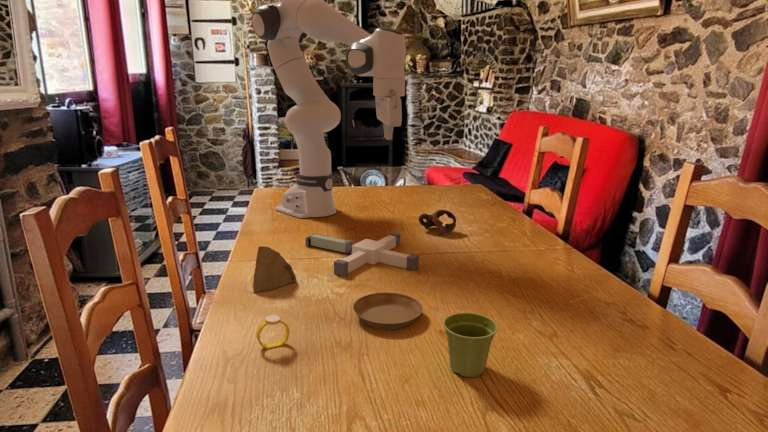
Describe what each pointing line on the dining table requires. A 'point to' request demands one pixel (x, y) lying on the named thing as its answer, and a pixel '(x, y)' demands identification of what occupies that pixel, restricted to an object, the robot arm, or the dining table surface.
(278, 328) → the dining table surface
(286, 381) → the dining table surface
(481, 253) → the dining table surface
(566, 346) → the dining table surface
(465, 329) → the plant pot
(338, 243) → the hinged leg
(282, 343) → the gold ring
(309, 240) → the leg socket
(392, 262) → the stool base
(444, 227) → the pottery mug
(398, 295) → the plant saucer
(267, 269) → the rock
